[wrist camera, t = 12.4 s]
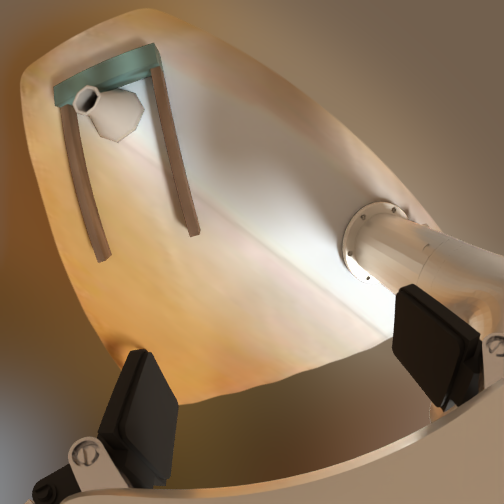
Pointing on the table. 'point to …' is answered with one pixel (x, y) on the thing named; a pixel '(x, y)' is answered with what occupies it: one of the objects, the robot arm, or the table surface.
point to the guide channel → (105, 79)
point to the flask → (110, 111)
